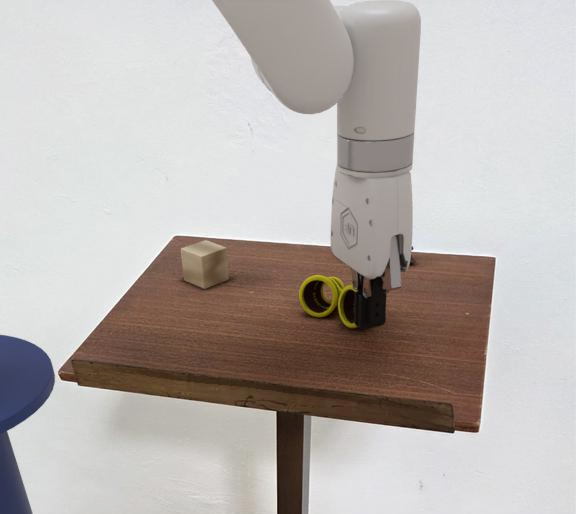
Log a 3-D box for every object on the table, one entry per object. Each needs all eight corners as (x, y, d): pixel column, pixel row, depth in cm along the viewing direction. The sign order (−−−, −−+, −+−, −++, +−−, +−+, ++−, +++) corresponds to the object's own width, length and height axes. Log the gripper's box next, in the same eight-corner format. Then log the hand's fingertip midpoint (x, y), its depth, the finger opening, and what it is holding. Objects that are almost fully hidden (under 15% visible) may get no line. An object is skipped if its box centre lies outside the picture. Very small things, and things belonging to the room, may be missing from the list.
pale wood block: (204, 289, 99) (201, 256, 96) (183, 280, 101) (180, 248, 99) (229, 279, 101) (226, 247, 99) (208, 271, 104) (205, 239, 101)
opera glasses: (384, 326, 91) (391, 285, 88) (360, 334, 87) (366, 291, 85) (321, 307, 96) (326, 267, 93) (295, 313, 92) (300, 272, 89)
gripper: (308, 141, 78) (311, 307, 90) (379, 176, 67) (372, 359, 79) (371, 131, 80) (366, 295, 92) (449, 164, 69) (433, 344, 81)
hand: (369, 324), depth 85 cm, fingers closed
